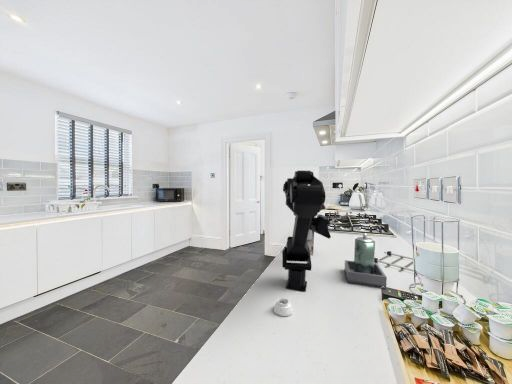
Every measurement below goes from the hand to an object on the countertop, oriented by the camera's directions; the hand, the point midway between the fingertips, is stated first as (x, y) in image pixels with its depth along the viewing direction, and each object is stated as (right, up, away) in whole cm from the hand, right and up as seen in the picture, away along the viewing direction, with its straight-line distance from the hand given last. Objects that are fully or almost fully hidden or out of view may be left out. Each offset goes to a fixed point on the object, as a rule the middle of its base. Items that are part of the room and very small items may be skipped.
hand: (323, 234), depth 85 cm
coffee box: (-3, -13, +20) cm, 24 cm away
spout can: (+12, -13, -9) cm, 20 cm away
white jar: (-20, -15, -29) cm, 38 cm away
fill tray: (+12, -14, -9) cm, 20 cm away
